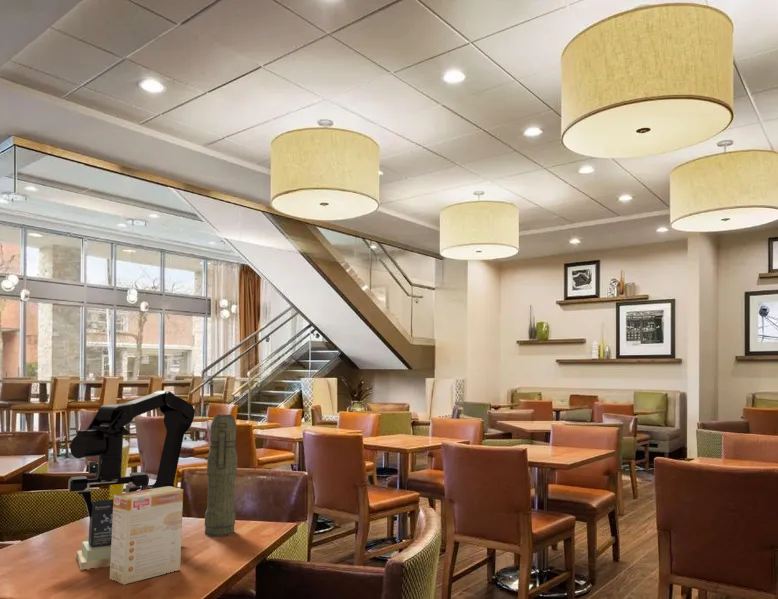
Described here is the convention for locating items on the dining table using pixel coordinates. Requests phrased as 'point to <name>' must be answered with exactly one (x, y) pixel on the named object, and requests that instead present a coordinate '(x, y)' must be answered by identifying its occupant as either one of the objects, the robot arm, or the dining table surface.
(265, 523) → the dining table surface
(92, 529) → the box
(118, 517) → the coffeecake box
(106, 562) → the lower slab
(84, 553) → the upper slab
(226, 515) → the thermos
